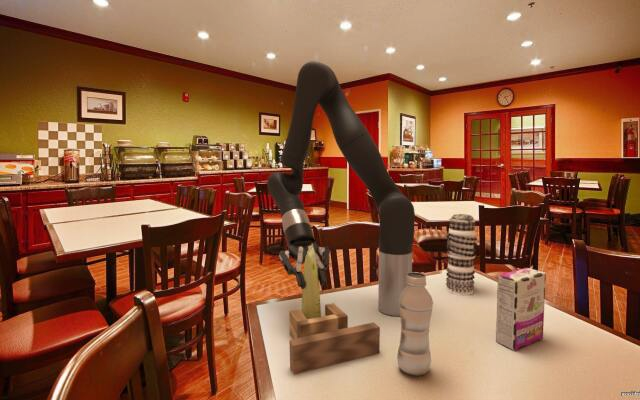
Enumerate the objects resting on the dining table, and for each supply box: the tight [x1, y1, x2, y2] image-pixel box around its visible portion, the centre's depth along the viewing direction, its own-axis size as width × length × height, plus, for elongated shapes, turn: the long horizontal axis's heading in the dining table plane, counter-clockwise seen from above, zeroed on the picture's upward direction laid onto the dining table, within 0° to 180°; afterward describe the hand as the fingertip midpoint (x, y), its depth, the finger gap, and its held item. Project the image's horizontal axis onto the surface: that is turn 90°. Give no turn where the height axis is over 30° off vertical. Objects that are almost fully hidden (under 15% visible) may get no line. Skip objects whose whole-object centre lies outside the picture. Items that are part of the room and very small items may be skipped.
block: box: [288, 303, 349, 340], centre depth 83 cm, size 12×8×6 cm, turn 112°
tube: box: [301, 244, 322, 319], centre depth 87 cm, size 6×5×20 cm
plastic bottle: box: [396, 271, 434, 376], centre depth 69 cm, size 6×7×20 cm
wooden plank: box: [288, 322, 381, 375], centre depth 73 cm, size 20×2×6 cm, turn 112°
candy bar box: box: [495, 267, 547, 352], centre depth 80 cm, size 11×5×16 cm, turn 117°
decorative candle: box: [445, 213, 478, 296], centre depth 111 cm, size 9×9×25 cm
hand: (313, 285), depth 85 cm, fingers closed on tube, 4 cm apart
